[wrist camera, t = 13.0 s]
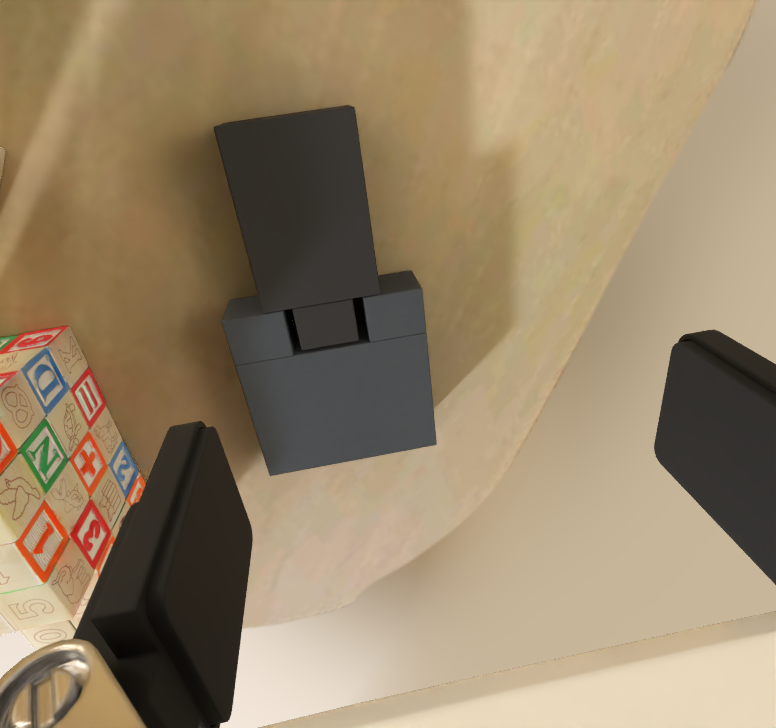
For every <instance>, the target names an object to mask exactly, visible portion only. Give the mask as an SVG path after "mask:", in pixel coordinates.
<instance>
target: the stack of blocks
mask: <svg viewBox="0 0 776 728" xmlns="http://www.w3.org/2000/svg"><path fill="white" fill-rule="evenodd" d="M145 485H146V484H145V482H144V480H143V478H142V475H141V473H139V472H138V470H137V467H136V465H135V463H134V461H133V459H132V457H131V455H130V453H129V451H128V449H127V447H126V445H125V443H124V441H123V440H122V438H121V435H120V433H119V431H118V429H117V427H116V425H115V423H114V421H113V419H112V417H111V415H110V413H109V411H108V408H107V407H106V402H105V400H104V398H103V395H102V393H101V391H100V389H99V387H98V385H97V383H96V381H95V379H94V376H93V374H92V372H91V370H90V368H89V367H88V365H87V361H86V359H85V357H84V355H83V353H82V351H81V349H80V346H79V344H78V342H77V340H76V338H75V336H74V334H73V332H72V330H71V328H70V327H69V326H63V327H57V328H51V329H46V330H40V331H34V332H29V333H23V334H21V335H18V336H10V337H4V338H0V636H1V635H6V634H10V633H15V632H16V631H20V632H21V634H22V635H23V636H24V637H25V638H26V640H27V641H28V642H29V643H30V645H31V646H32V647H33V648H34V650H35V651H37V650H38V649H40V648H42V647H44V646H47V645H49V644H52V643H55V642H57V641H60V640H68V639H73V636H74V634H75V632H76V629H77V627H78V625H79V622H80V620H81V618H82V615H83V613H84V611H85V608H86V606H87V604H88V601H89V599H90V597H91V595H92V592H93V590H94V588H95V585H96V583H97V581H98V578H99V576H100V574H101V571H102V569H103V567H104V564H105V562H106V560H107V557H108V555H109V553H110V550H111V548H112V546H113V543H114V541H115V539H116V536H117V534H118V532H119V529H120V527H121V525H122V523H123V520H124V518H125V516H126V513H127V511H128V510H129V508H130V506H131V505H133V504H134V503H136V502H139V500H140V497H141V495H142V493H143V490H144V488H145Z"/></svg>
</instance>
